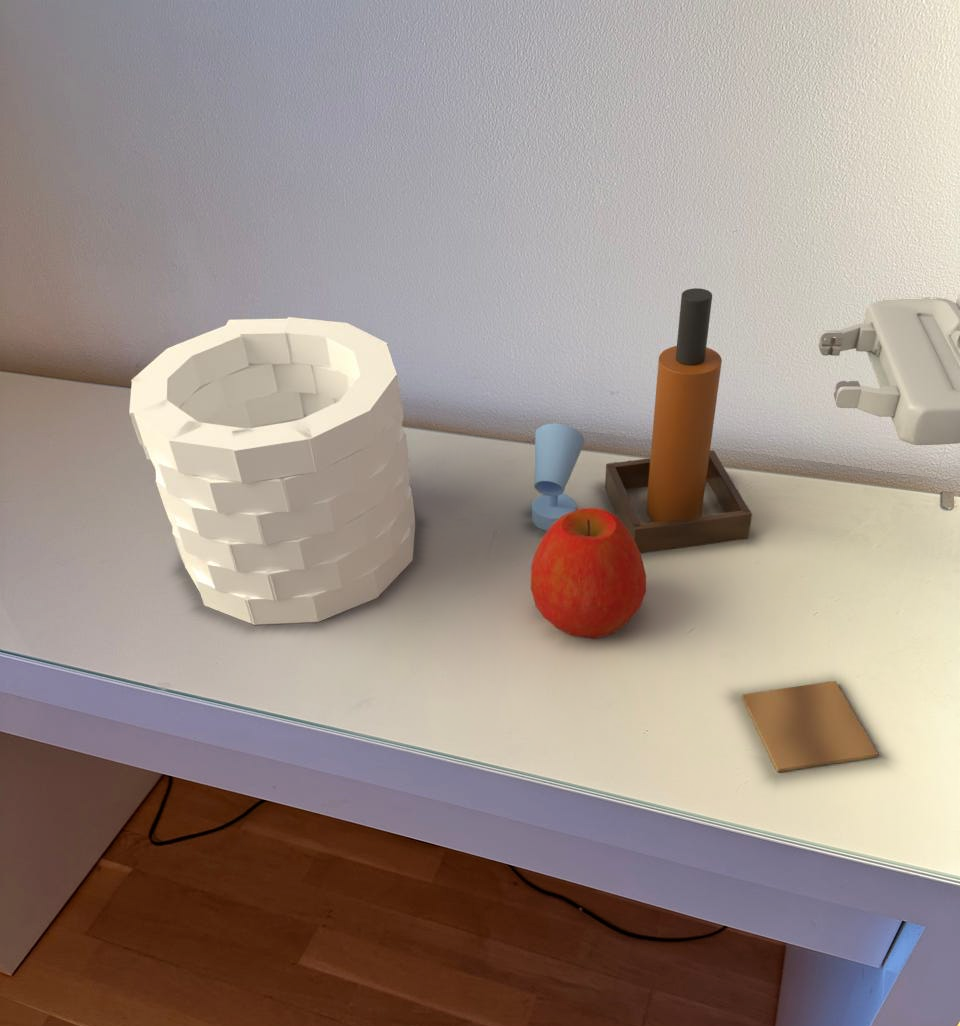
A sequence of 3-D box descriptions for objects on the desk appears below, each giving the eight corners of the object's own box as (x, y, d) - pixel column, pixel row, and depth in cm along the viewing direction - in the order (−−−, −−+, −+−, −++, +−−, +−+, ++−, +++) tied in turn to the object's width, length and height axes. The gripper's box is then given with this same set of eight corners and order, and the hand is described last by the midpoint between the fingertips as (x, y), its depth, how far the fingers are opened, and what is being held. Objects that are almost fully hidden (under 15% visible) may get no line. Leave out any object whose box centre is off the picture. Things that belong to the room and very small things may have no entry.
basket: (413, 620, 88) (389, 442, 75) (157, 631, 89) (90, 457, 76) (423, 468, 107) (405, 304, 94) (211, 478, 107) (163, 317, 94)
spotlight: (538, 494, 102) (524, 533, 97) (537, 410, 95) (521, 448, 90) (584, 499, 101) (572, 538, 96) (586, 414, 94) (573, 453, 89)
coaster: (834, 683, 80) (835, 680, 80) (877, 757, 74) (878, 753, 74) (741, 697, 79) (742, 694, 79) (777, 772, 74) (778, 769, 73)
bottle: (692, 493, 101) (718, 277, 85) (708, 524, 97) (739, 304, 81) (639, 500, 100) (656, 284, 84) (654, 532, 96) (674, 312, 80)
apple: (553, 566, 93) (553, 475, 86) (657, 588, 90) (666, 496, 83) (515, 634, 86) (512, 541, 79) (626, 661, 83) (633, 567, 76)
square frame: (710, 473, 103) (713, 449, 101) (748, 538, 95) (752, 514, 92) (604, 487, 102) (605, 463, 100) (633, 554, 94) (635, 529, 92)
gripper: (1013, 465, 79) (838, 462, 80) (953, 348, 93) (806, 347, 95) (1040, 396, 74) (855, 394, 76) (972, 284, 89) (818, 285, 91)
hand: (827, 367), depth 86 cm, fingers open, 8 cm apart
